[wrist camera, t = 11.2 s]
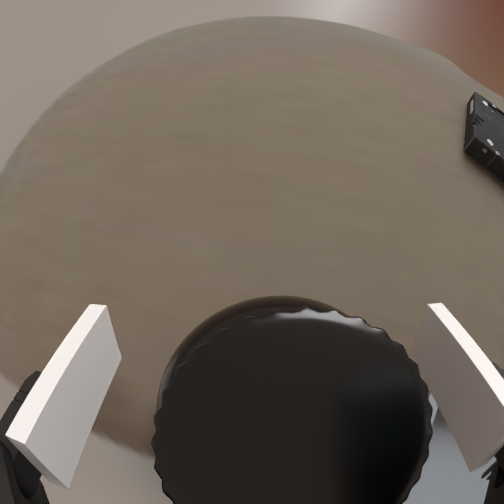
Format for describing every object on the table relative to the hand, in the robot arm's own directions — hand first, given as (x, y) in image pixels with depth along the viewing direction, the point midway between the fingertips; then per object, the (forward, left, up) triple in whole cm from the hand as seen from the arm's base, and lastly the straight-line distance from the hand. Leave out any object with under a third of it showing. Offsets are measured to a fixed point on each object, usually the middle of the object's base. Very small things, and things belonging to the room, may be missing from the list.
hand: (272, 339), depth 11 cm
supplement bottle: (+2, +1, -5) cm, 6 cm away
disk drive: (-25, +21, -6) cm, 33 cm away
